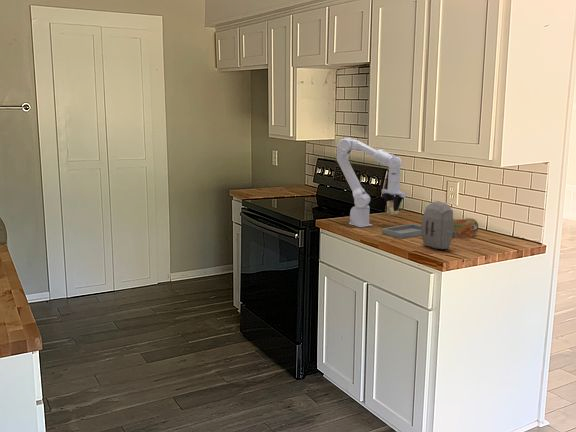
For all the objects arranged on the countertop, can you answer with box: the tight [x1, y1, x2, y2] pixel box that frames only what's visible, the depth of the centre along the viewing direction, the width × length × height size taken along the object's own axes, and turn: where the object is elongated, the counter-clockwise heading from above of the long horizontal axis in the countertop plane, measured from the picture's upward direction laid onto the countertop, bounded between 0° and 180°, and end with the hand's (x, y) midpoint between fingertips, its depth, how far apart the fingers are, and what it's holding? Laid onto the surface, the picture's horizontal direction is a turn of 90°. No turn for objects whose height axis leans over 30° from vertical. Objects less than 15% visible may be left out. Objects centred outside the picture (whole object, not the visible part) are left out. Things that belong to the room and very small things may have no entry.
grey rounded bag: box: [420, 200, 454, 250], centre depth 238 cm, size 15×8×20 cm, turn 30°
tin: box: [452, 218, 479, 238], centre depth 260 cm, size 15×3×8 cm, turn 105°
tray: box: [381, 223, 422, 240], centre depth 265 cm, size 12×20×2 cm, turn 124°
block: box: [386, 200, 400, 215], centre depth 275 cm, size 4×4×6 cm
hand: (392, 209), depth 275 cm, fingers closed on block, 4 cm apart
